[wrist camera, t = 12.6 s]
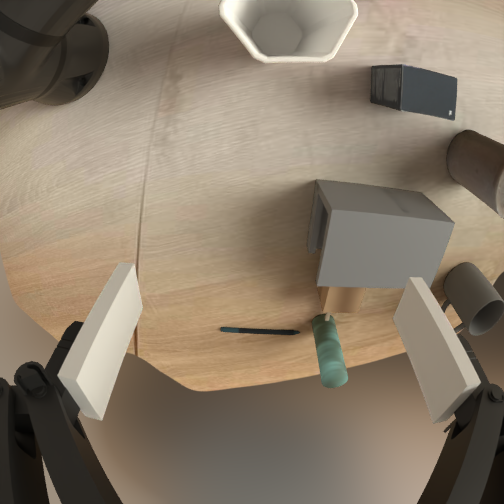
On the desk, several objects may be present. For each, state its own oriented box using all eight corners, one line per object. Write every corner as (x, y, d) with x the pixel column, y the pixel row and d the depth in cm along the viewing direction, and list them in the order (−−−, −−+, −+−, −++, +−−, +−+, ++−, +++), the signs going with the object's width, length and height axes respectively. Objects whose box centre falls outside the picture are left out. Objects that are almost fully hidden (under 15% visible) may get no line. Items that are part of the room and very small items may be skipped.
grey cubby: (306, 244, 49) (316, 286, 40) (316, 179, 44) (332, 209, 34) (404, 250, 50) (429, 288, 41) (421, 192, 44) (454, 222, 35)
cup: (316, 2, 30) (351, -39, 15) (321, 69, 35) (362, 64, 21) (231, 4, 30) (214, -40, 16) (237, 72, 36) (223, 66, 21)
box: (418, 74, 34) (459, 78, 25) (416, 110, 37) (455, 122, 28) (370, 64, 34) (402, 63, 25) (368, 102, 37) (400, 111, 28)
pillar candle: (466, 118, 36) (527, 143, 24) (495, 154, 39) (551, 188, 26) (436, 162, 41) (490, 200, 28) (467, 195, 44) (517, 238, 31)
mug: (471, 253, 50) (503, 290, 39) (480, 280, 53) (507, 316, 43) (419, 291, 55) (443, 334, 44) (432, 315, 58) (453, 355, 48)
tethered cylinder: (306, 329, 59) (314, 388, 47) (322, 256, 50) (340, 315, 38) (335, 330, 59) (348, 386, 48) (356, 258, 50) (381, 314, 39)
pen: (299, 332, 61) (300, 336, 60) (221, 329, 60) (220, 333, 59) (300, 328, 60) (301, 332, 59) (221, 325, 60) (220, 329, 59)
